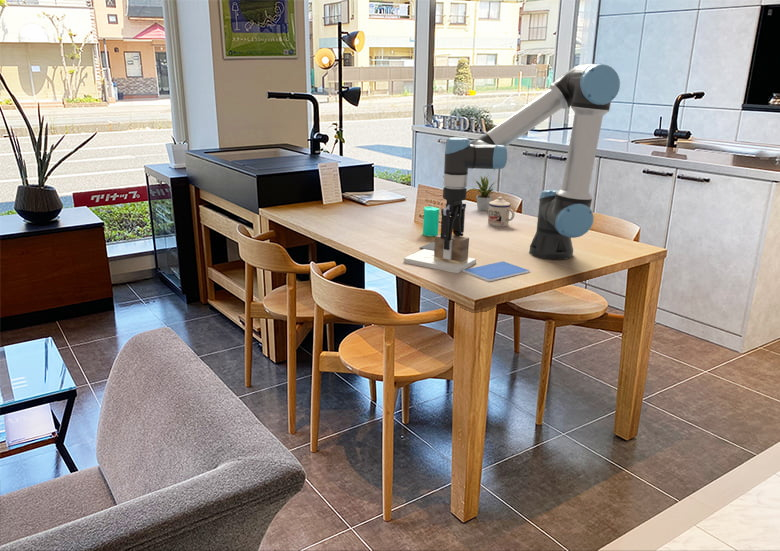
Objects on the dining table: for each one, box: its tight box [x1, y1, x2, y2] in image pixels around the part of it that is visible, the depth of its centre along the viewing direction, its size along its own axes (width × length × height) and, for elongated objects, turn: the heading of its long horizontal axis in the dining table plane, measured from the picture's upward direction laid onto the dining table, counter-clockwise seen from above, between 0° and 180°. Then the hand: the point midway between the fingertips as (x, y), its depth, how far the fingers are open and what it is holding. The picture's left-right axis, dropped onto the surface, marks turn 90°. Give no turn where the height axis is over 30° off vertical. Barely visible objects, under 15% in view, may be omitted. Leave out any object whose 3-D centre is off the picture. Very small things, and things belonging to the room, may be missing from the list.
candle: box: [422, 205, 440, 237], centre depth 247 cm, size 6×6×12 cm
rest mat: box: [419, 241, 435, 251], centre depth 229 cm, size 14×10×1 cm
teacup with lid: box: [487, 196, 515, 227], centre depth 266 cm, size 12×9×12 cm
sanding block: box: [434, 233, 470, 265], centre depth 209 cm, size 10×5×8 cm, turn 58°
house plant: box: [471, 175, 496, 211], centre depth 295 cm, size 14×14×16 cm
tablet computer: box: [462, 261, 531, 283], centre depth 205 cm, size 19×13×1 cm, turn 127°
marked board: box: [403, 249, 477, 274], centre depth 212 cm, size 20×14×2 cm
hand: (451, 256), depth 210 cm, fingers closed on sanding block, 5 cm apart
